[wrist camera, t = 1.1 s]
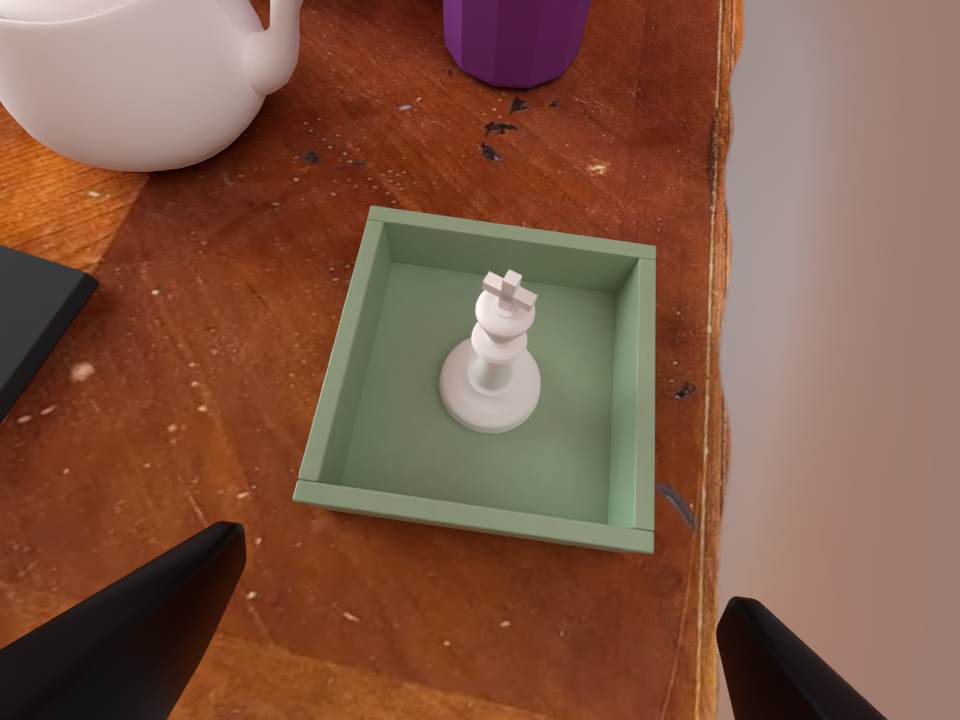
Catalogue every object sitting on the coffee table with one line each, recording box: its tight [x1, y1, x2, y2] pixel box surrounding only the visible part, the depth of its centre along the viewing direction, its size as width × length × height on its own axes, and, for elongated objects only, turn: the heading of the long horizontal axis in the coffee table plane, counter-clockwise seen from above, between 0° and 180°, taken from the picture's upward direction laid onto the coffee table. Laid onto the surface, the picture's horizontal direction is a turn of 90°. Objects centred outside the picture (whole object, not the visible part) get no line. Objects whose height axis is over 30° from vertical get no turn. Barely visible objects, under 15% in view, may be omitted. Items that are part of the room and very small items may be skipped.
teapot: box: [0, 0, 304, 172], centre depth 25 cm, size 22×14×11 cm, turn 86°
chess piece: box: [439, 269, 541, 434], centre depth 19 cm, size 5×5×10 cm
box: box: [293, 206, 656, 554], centre depth 22 cm, size 14×14×4 cm
